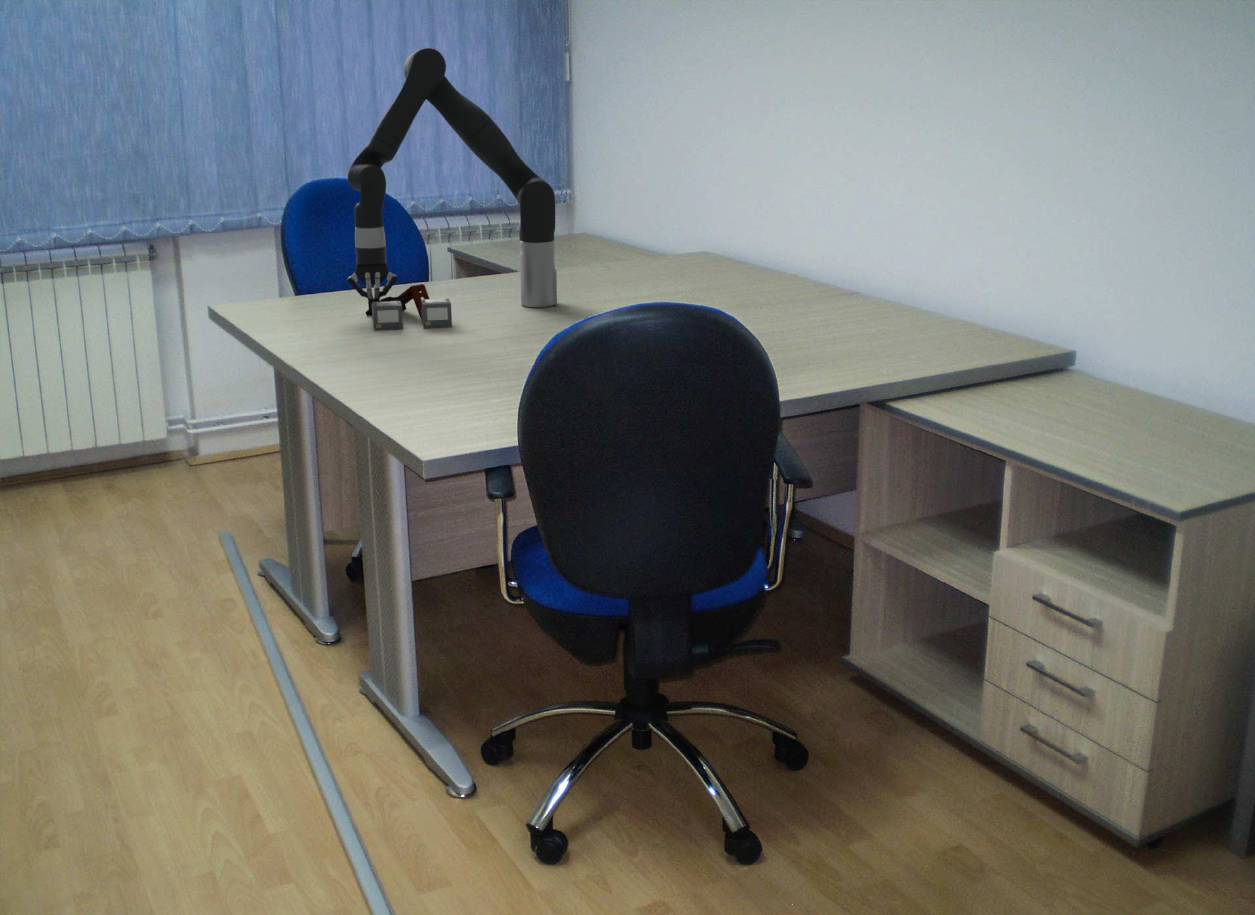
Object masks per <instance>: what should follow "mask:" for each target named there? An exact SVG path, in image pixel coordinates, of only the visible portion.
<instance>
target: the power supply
mask: <svg viewBox="0 0 1255 915" xmlns="http://www.w3.org/2000/svg"><path fill="white" fill-rule="evenodd" d="M403 320H404V317H403V311H402V304H401V302H400V301H385V302H372V326H373V331H374V332H378V331H379V332H381V331H383V332H384V331H398V330H399V331H401V330H402V331H403V330H404V321H403Z"/></svg>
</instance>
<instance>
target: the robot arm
mask: <svg viewBox="0 0 1255 915" xmlns="http://www.w3.org/2000/svg"><path fill="white" fill-rule="evenodd" d="M403 64H404V65H403V73H404V76H405V81H404V83H403V86H402V87H401V88H400V92H399V93H398V95H397V97H395V100H394V101H393V102H392V104H391V105H390V106H389V108H388V109H387V111H386V112H385V114H384V116H382V118H381V120H380V121H379V124H377V126H376V129H375V130H374V131H373V134H372V136H371V138H370V140H369V142H368V143H367V145H366V146H365V147H364V148H363V149H362V150H361V152H360V153H359V154H358V156H356V158H355V159H354V160H353V162H352V164H350V167H349V169H348V172H347V182H348V184H349V186H350V188H351V189H352V190H355V191H358V192H360V196H359V202H358V203H356V204H355V206H354V211H353V214H354V215H353V216H354V229H355V230H354V246H355V247H354V248H355V262H356V266H355V269H354V272H353V274H351V275H350V276H348V277H347V282H348V283H349V284H350V285H351V286H352V287H353V289H354V290H355V291H356V292H357V293H358V294H359V296H361V298H362V297H363V298H367V304H368V310H369V311H372V302H379V301H380V300H381V298H382V297H385V296H387V294H388V293H389V292H390V290H391V289H392V287H393V286H394V285H395V283H397V280H398V277H397V275H396V274H394V273H392V272H391V271H390V269H389V266H388V265H387V247H386V246H387V245H386V244H387V242H386V233H385V228H384V227H385V226H384V212H383V208H384V203H385V196H386V189H387V181H386V180H387V179H386V178H387V177H386V174H385V173H384V171H383V169H382V168H383V165H385V164H386V163H389V162H391V161H393V159H395V156H396V155H397V152H398V151H399V149H400V148H401V145H402V143H403V142H404V140H405V138H406V136H407V134H408V132H409V130H410V128H411V126H412V124H413V123H414V121H415V119H416V117H417V115H418V113H419V112H420V109H421V108H422V106H423V105H424V103H425V101H427V102H429V103H430V104H431V105H432V106H433V107H434V108H435V109H436V111H437V112H438V113H440V115H441V116H442V118H443V119H444V121H446V122H447V123H448V125H449V126H450V127H451V129H453V131H454V132H455V133H456V135H457V136H458V137H459V138H460V139H461V140H462V142H463V143H464V144H465V145H466V146H467V147H468V148H469V150H470V151H472V152H471V153H473V154H474V155H475V156H476V157H477V158H478V159H479V160H480V161H481V162H482V163H483V164H485V166H486V167H488V168H489V169H490V170H491V171H493V173H495V175H497V176H498V177H499V178H500V180H501V181H502V182H503V183H504V184H505V185H506V187H507V188H508V189H509V191H510V192H511V193H512V195H513V196H514V198H515V200H516V201H517V203H518V205H519V211H520V212H519V218H520V219H519V220H520V224H519V225H520V226H519V231H518V232H519V234H518V236H519V271H520V272H519V273H520V300H521V301H520V303H521V306H523V307H527V308H549V307H553V305H555V306H558V282H557V281H558V280H557V278H558V277H557V276H558V275H557V273H558V272H557V269H556V266H555V264H556V263H555V257H556V256H555V232H556V195H555V192H554V189H553V187H552V186H551V184H549V183H548V182H547V181H545V180H544V179H542V178H541V176H539V175H537V174H536V172H534V170H532V169H531V168H530V166H528V164H526V163H525V162H524V161H523V159H522V158H520V155H518V153H517V151H516V150H515V148H514V146H513V145H512V143H511V142H510V140H509V139H508V137H507V136H506V135H505V133H504V132H503V131H502V129H501V128H500V127H499V126H498V125H497V123H496V122H495V121H494V120H493V119H492V118H491V116H490V115H489V114H488V113H486V111H484V110H483V109H482V108H481V107H479V106H478V105H477V104H476V103H474V102H473V101H471V100H470V99H468V98H467V97H466V96H464V95H463V94H462V93H460V92H459V91H458V90H457V89H456V88H455V87H454V86H453V84H452V83H451V82H450V81H449V80H448V78H447V77H446V76H445V75H446V71H447V64H446V60H445V57H444V55H443V54H442V53H441V52H440V51H439V50H437V49H436V48H433V47H422V48H419V49H417V50H415V51H414V52H413V53H411V54H410V55H409V56H407V58H406V59H405V60H404V63H403ZM358 279H359V280H360V281H361V282H362V284H363V285H365V286H366V287H365V288H366V290H364V289H363V288H362V287H361V285H360V284H359V283H358ZM385 279H386V280H387V282H386V284H385V285H384V286H383V288H382V289H381V290H380V288H381V287H380V286H381V284H382V283H383V282H384V281H385ZM372 288H373V290H372ZM373 291H374V292H373ZM548 306H549V307H548Z"/></svg>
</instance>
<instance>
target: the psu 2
mask: <svg viewBox="0 0 1255 915" xmlns="http://www.w3.org/2000/svg"><path fill="white" fill-rule="evenodd" d="M420 301H421V318H420V321H421V320H422V321H421V325H422V327H423V329H436V328H437V329H439V328H442V329H443V328H453V318H452V302H451V300H450V299H449V298H431V299H430V298H429V299H427V300H424V299H421V300H420Z"/></svg>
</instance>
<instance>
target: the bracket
mask: <svg viewBox="0 0 1255 915" xmlns="http://www.w3.org/2000/svg"><path fill="white" fill-rule="evenodd" d="M422 298H423V300H427V299H430V296H429V293H428V291H427V287H426V285H425V284H424V283H421V284H415V285H411V286H410V287H408V288H407V289H406V290H404V291H403V292H402V293H400V294H399V295H398V296H394V297H392V296H386V297H383V298H380V301H379V302H385V301H400V302H401V304H402V312H404V311H406V310H407V306H406V305H407V304H408V303H409V302H411V300H413V302H414V305H415V307H416V310H417V312H418V316H419V318H420V322H422V320H421V301H420V300H422ZM365 315H366V317H373V315H372V311H369V309H367V310H366V311H365Z"/></svg>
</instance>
